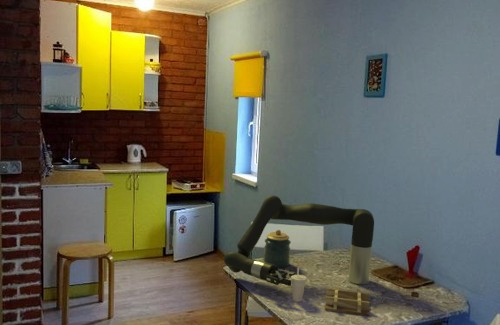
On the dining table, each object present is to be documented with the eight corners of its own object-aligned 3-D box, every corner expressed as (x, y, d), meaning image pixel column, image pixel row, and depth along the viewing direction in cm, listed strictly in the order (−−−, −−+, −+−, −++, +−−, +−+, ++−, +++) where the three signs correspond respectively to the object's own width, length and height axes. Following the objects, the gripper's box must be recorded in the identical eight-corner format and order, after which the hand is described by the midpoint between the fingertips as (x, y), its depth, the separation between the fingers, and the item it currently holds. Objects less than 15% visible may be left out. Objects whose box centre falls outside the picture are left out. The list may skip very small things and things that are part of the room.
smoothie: (295, 295, 202) (297, 263, 200) (308, 300, 198) (310, 267, 196) (286, 299, 197) (288, 266, 195) (299, 304, 193) (301, 271, 191)
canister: (290, 269, 234) (292, 234, 232) (263, 267, 234) (265, 232, 232) (288, 260, 247) (290, 227, 244) (263, 259, 247) (265, 225, 245)
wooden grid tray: (326, 293, 205) (327, 284, 205) (367, 299, 202) (368, 290, 202) (324, 310, 189) (325, 300, 188) (369, 316, 186) (370, 306, 185)
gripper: (254, 266, 201) (287, 276, 191) (273, 258, 212) (305, 267, 202) (253, 283, 201) (286, 294, 192) (272, 275, 213) (304, 284, 203)
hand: (296, 280), depth 197 cm, fingers open, 8 cm apart
